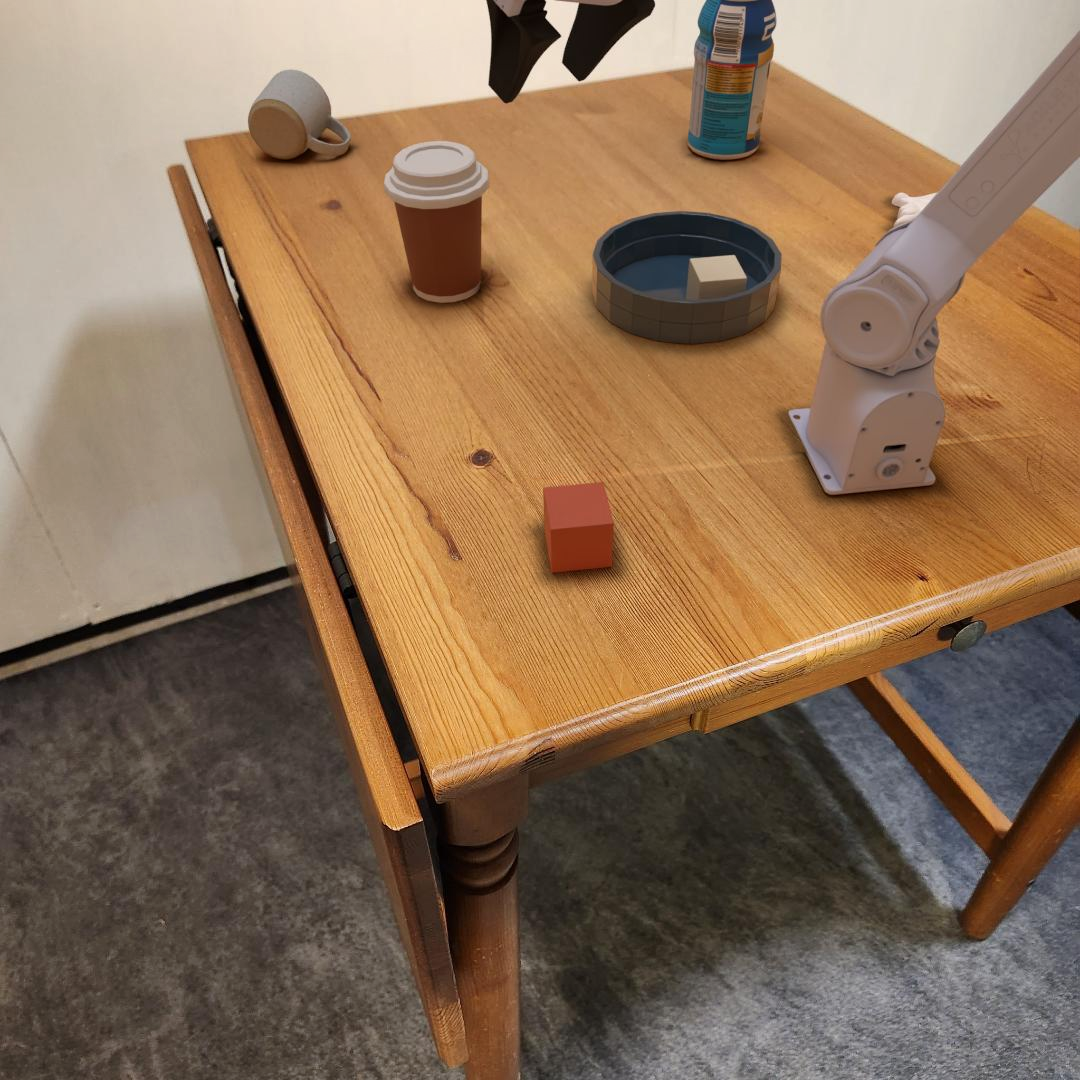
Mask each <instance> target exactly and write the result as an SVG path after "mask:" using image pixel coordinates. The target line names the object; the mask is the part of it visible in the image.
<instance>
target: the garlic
mask: <svg viewBox="0 0 1080 1080" xmlns="http://www.w3.org/2000/svg"><path fill="white" fill-rule="evenodd" d="M938 192H939V191H937V192H933V193H930V194H925V195H921V196H909V195H908V194H907V193H905V192H898V193H896V194H895V195H894V197H893V198H892V200H891V204H892V205H893V206H895V207H899V209H898V212H897V217H896V220H895V222H894V223H893V227H892V228H894V227H895V226H898V225H900V224H903V223H905V222H908V221H910V220H912V219H914V218H916V217H917V216H918V215H919V213H920V212H921V211H922V210H923V209H924V208H925V207H926V205H927V204H928V203H929V202H930V201H931V200H932V199H933V197H934V196H935V195H936V194H937V193H938Z"/></svg>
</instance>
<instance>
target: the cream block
mask: <svg viewBox="0 0 1080 1080" xmlns="http://www.w3.org/2000/svg"><path fill="white" fill-rule="evenodd" d="M746 282H747V277H746V275H745V273H744V271H743V270H742V268H741V266H740V264H739V262H738V260H737V258H736V257H735V255H728V256H716V257H704V258H691V259H690V261H689V271H688V281H687V292H686V299H689V300H697V299H709V298H721V297H725V296H729V295H733V294H736V293H740V292H743V291H745V289H746Z"/></svg>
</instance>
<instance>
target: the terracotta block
mask: <svg viewBox="0 0 1080 1080" xmlns="http://www.w3.org/2000/svg"><path fill="white" fill-rule="evenodd" d="M604 483H605V482H603V481H597V482H588V483H578V484H566V485H555V486H547V487H543V488H542V494H543V495H542V496H543V498H542V499H543V501H542V502H543V527H544V528H543V531H544V532H543V533H544V537H545V543H546V548H547V554H548V559H549V561H548V562H549V565H550V571H551V573H552V574H554V573H563V572H575V571H584V570H593V569H603V568H611V567H613V549H614V528H615V527H614V525H615V524H614V520H613V518H614V517H613V515H612V511H611V507H610V502H609V499H608V494H607V491H606V487H605V484H604Z"/></svg>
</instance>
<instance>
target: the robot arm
mask: <svg viewBox="0 0 1080 1080" xmlns="http://www.w3.org/2000/svg"><path fill="white" fill-rule="evenodd" d="M485 1H486V5H487V11H488V16H489V17H488V18H489V25H490V60H489V61H490V62H489V71H488V81H487V82H488V83H487V85H488V87H489V88H490V89H491V90H492V91H493V92H494V94H496V96H497V97H498V98H499V99H500V100H501V101H502V102H503V103H504V104H505V105H506V104H510V103H513V102H514V101H515V100H516V98H517V97H518V96H519V94H520V93H521V91H522V89H523V88H524V86H525V84H526V82H527V80H528V78H529V76H530V74H531V73H532V70H533V68H534V67H535V65H536V64H537V63H538V61H539V59H540V58H541V57H542V56H543V54H544V53H545V52H546V51H547V50H548V49H549V48H550V47H551V46H552V45H554V43H556V42H557V41H558V40H559V39H560V38H562V35H561V33H560V32H559V31H558V30H557V29H556V28H555V27H554V26H553V24H552V23H551V22H550V21H549V20H548V19H547V18H546V17H547V14H548V10H547V9H545V7H546V5H547V0H485ZM555 1H556V2H565V3H566V2H567V3H575V4H577V3H578V5H577V9H576V13H575V17H574V21H573V22H572V25H571V28H570V32H569V34H568V37H567V40H566V43H565V46H564V48H563V54H562V60H561V64H562V65H563V66H564V67H565V68H566V69H567V71H569V72H570V74H571V75H572V76H573V77H574V78H575V79H576V81H578V82H582V81H585V80H586V79H587V78H588V77H589V76H590V74H592V72H593V71H594V70H595V69H596V67H598V65H599V64H600V63H601V61H602V60H603V59H604V58H605V57H606V55H608V53H609V52H610V51H611V50H612V48H613V47H614V46H615V45H616V44H617V43H618V42H619V41H620V40H621V39H622V38H623V37H624V36H625V35H626V34H628V32H629V31H630V30H632V29H633V28H634V27H636V26H637V25H638V24H640V23H641V22H642V21H645V20H646V19H647V18H648V17H650V16H652V13H653V12H654V9H655V7H656V2H655V0H555ZM1079 158H1080V30H1078V31H1077V33H1076V34H1075V35H1074V36H1073V37H1072V38H1071V39H1070V40H1069V42H1068V43H1067V44H1066V45H1065V47H1063V48H1062V50H1061V51H1060V52H1059V53H1058V54H1057V56H1056V57H1055V58H1054V59H1053V60H1052V61H1051V62H1050V63H1049V64H1048V66H1047V67H1046V68H1045V69H1044V70H1043V72H1041V73H1040V74H1039V76H1038V77H1037V78H1036V80H1034V82H1033V83H1032V84H1031V85H1030V86H1029V88H1028V89H1027V90H1025V92H1024V93H1023V94H1022V95H1021V97H1020V98H1019V99H1018V100H1017V101H1016V103H1014V104H1013V105H1012V107H1011V108H1010V109H1009V110H1008V112H1006V114H1005V115H1004V116H1003V117H1002V118H1001V119H1000V121H999V122H998V123H997V124H996V125H995V127H993V129H992V130H990V132H989V133H988V134H987V135H986V137H985V138H983V140H982V141H981V143H980V144H979V145H978V146H977V147H976V148H975V149H974V150H973V151H972V153H971V154H970V155H969V156H968V157H967V158H966V159H965V161H964V162H963V163H962V164H961V165H960V167H958V169H956V171H955V172H954V173H953V174H952V176H950V177H949V179H948V180H947V181H946V182H945V183H944V185H943V186H942V187H941V188H940V189H939V191H937V192H938V193H937V192H936V193H937V194H936V195H935V196H934V197H933V199H932V200H931V201H930V202H929V203H928V204H927V205H926V207H925V208H924V209H923V210H922V211H921V212H920V213H919V215H918V216H917V217H916V218H914V219H912V220H910V221H908V222H905V223H903V224H900V225H898V226H895V227H894V226H893V227H894V228H893V227H892V228H890V229H889V230H888V231H886V232H885V233H884V234H883V235H882V236H881V237H880V239H878V241H877V242H876V244H875V246H874V248H873V249H872V250H871V251H870V252H869V253H868V254H867V255H866V257H864V258H863V260H861V262H860V263H858V264H857V266H856V267H855V268H854V269H853V270H852V271H851V272H850V273H849V274H848V276H847V277H845V278H844V279H842V280H840V281H839V282H837V284H836V285H835V286H833V288H831V289H830V291H828V293H827V295H826V296H825V299H824V300H823V303H822V306H821V309H820V315H819V317H820V327H821V331H822V334H823V336H824V338H825V342H824V346H823V350H822V355H821V359H820V363H819V369H818V374H817V379H816V382H815V387H814V390H813V391H814V392H813V396H812V401H811V405H810V407H807V408H796V409H794V408H793V409H790V410H789V411H788V412H787V414H788V416H789V418H790V420H791V422H792V424H793V426H794V428H795V430H796V432H797V435H798V436H799V439H800V440H801V443H802V444H803V446H804V449H805V450H806V451H804V453H805V455H806V456H807V459H808V461H809V463H810V465H811V467H812V469H813V471H814V473H815V475H816V477H817V479H818V481H819V483H820V485H821V486H822V489H823V491H824V492H825V493H826V494H827V495H830V496H834V495H835V496H836V495H844V494H854V493H855V494H856V493H863V492H875V491H884V490H885V491H886V490H894V489H896V490H897V489H905V488H917V487H925V486H931V485H934V484H935V482H936V479H937V478H936V476H935V474H934V472H933V471H932V469H931V468H930V464H931V460H932V458H933V454H934V451H935V450H936V446H937V443H938V440H939V438H940V435H941V432H942V430H943V426H944V423H945V420H946V407H945V404H944V401H943V398H942V397H941V394H940V393H939V390H938V388H937V384H936V380H935V362H936V358H937V357H936V356H937V352H938V349H939V346H940V341H941V340H940V331H939V330H940V329H939V325H938V324H939V323H938V320H937V316H938V314H939V313H940V312H941V311H942V309H943V308H944V307H945V306H946V305H947V304H948V303H949V302H950V301H951V300H952V299H953V298H954V297H955V296H956V295H957V294H958V292H959V291H960V289H961V287H962V286H963V283H964V281H965V278H966V274H967V273H968V271H969V270H970V269H971V268H972V267H973V265H974V264H976V262H978V260H979V259H980V258H981V257H982V256H983V255H984V254H985V253H986V252H987V251H988V249H990V247H992V246H993V245H994V244H995V243H996V242H997V241H998V240H999V239H1000V238H1001V237H1002V236H1003V235H1004V234H1005V233H1006V232H1007V231H1008V230H1009V229H1010V228H1011V227H1012V226H1013V225H1014V224H1015V223H1016V221H1017V220H1019V219H1020V218H1021V217H1022V215H1024V213H1025V212H1027V210H1029V208H1030V207H1031V206H1032V205H1034V204H1035V202H1037V201H1038V200H1039V198H1041V196H1042V195H1043V194H1045V192H1046V191H1048V190H1049V188H1050V187H1051V186H1053V184H1054V183H1055V182H1056V181H1057V180H1058V179H1059V178H1061V176H1062V175H1063V174H1065V172H1066V171H1067V170H1069V168H1070V167H1072V166H1073V164H1074V163H1075V162H1077V160H1079ZM796 416H797V417H799V418H795V417H796Z"/></svg>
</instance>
